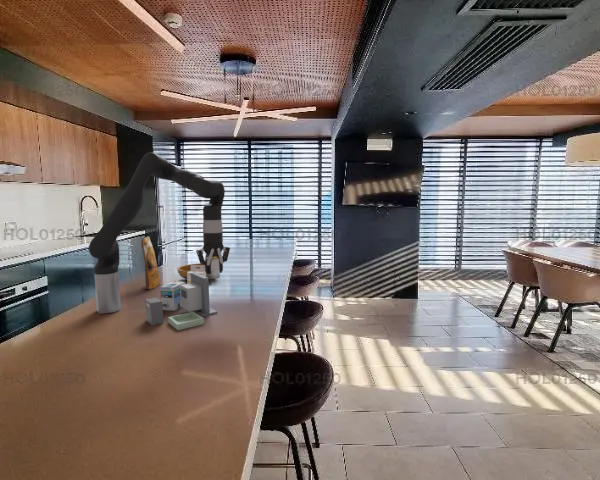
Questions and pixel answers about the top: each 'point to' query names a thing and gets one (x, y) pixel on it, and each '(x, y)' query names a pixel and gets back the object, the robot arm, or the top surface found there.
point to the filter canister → (214, 268)
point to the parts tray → (185, 320)
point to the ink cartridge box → (196, 270)
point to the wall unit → (196, 295)
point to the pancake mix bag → (150, 264)
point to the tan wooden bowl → (187, 270)
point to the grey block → (154, 311)
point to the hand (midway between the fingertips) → (214, 273)
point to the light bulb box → (171, 295)
